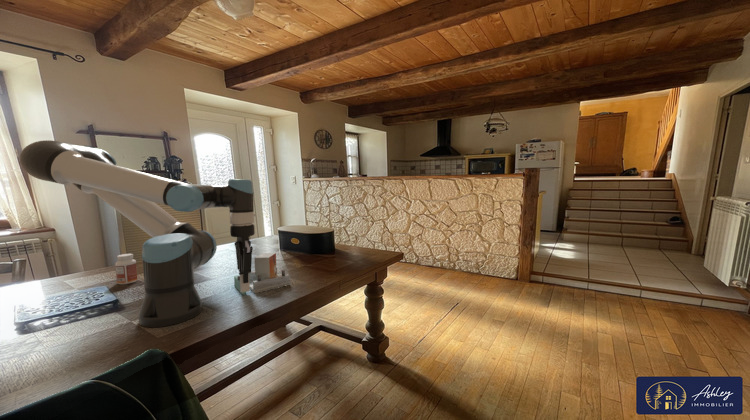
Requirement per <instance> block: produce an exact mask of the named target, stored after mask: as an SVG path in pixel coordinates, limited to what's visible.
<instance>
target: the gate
mask: <svg viewBox="0 0 750 420" xmlns="http://www.w3.org/2000/svg"><path fill="white" fill-rule="evenodd" d="M233 277H234V278H233V279H234V282H233V283H234V287H235V288H236V289H237V291H239V292H240V275H234V276H233ZM241 295H242V296H243V295H247V292H243V293H241Z"/></svg>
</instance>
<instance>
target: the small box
mask: <svg viewBox="0 0 750 420" xmlns="http://www.w3.org/2000/svg"><path fill="white" fill-rule="evenodd" d="M276 268H277V252H262V253H261V254H259V255H257V256H256V257H254V271H255V281H257V275H261V280H262V279H266V278H271V277H276V276H277V275H278V273H277V274H276Z"/></svg>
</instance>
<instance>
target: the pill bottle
mask: <svg viewBox="0 0 750 420" xmlns="http://www.w3.org/2000/svg"><path fill="white" fill-rule="evenodd" d="M116 258H117V261H116V262H115V263H114V264H115V276H116V277H115V278H116V283H117V285H120V286H121V285H128V284H133V283H136V282H137V281H138V268H137V260H136V259H134V254H133V253H122V254H119V255H117V257H116Z"/></svg>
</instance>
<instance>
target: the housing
mask: <svg viewBox="0 0 750 420" xmlns="http://www.w3.org/2000/svg"><path fill="white" fill-rule="evenodd" d="M276 274H277V276H276V277H271V278H266V279H262V280H261V275H257V281H255V270H253V271H252V270H251V272H250V273H249V283H250V289H251V290H252V291H251V290H250V291H251V292H252V293H254V294H255V293H256V294H259V292H260V293H264V292H263V291H265V292H268V291H267V290H269V291H271V290H270V289H273V290H275V289H274V288H277V289H279V288H278V287H281V288H283V287H282V286H285V285H289V284H290V285H291V282H290V274H289V273H287V274H286V270H285V269H282V270H281V275H279V274H278V267H276Z"/></svg>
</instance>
